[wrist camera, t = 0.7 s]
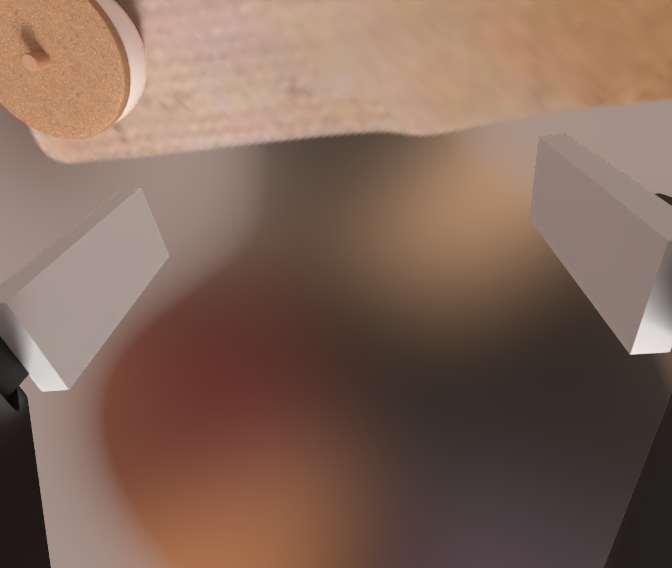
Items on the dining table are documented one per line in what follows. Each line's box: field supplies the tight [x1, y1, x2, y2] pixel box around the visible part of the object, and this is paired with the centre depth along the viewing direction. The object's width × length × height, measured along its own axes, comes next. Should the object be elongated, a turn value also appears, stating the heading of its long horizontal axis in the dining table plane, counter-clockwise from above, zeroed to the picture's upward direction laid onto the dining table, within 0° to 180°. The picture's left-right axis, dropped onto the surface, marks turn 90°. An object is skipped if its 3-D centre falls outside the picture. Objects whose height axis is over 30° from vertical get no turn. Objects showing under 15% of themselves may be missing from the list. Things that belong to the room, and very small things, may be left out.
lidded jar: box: [0, 0, 147, 139], centre depth 31 cm, size 11×11×9 cm
